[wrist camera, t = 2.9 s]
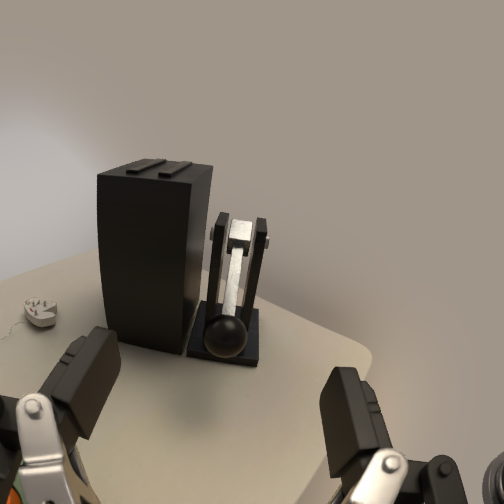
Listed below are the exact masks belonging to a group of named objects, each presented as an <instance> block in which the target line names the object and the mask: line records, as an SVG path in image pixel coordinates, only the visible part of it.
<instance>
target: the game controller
mask: <svg viewBox="0 0 504 504" xmlns="http://www.w3.org/2000/svg"><path fill="white" fill-rule="evenodd" d="M43 303H44V304H40V299H39V298H32V299H30V300H27V301H26V302H24V309H25V315H26V317H27V318H28V320H30V321H31V322H32V323H33V324H34V325H36V326H38V327H46V326H50V325H54V324H55V323H56V322H55V313H56V312H57V303H56V302H49V303H46V301H44V302H43ZM28 320H27V321H28ZM25 322H26V321H25ZM19 323H20V322H19ZM21 323H24V322H21ZM17 324H18V323H17ZM15 325H16V324H15ZM15 325H14V326H15ZM14 326H13V327H14ZM13 327H12V328H13ZM12 328H11V329H12ZM10 333H11V332H10ZM10 333H9V334H10ZM9 334H8V335H9ZM8 335H7V336H8ZM7 336H6V337H7ZM6 337H5V338H6ZM3 339H4V338H3ZM1 340H2V339H1Z"/></svg>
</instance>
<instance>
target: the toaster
mask: <svg viewBox="0 0 504 504" xmlns="http://www.w3.org/2000/svg"><path fill="white" fill-rule="evenodd" d="M212 171H213V166H211V165H203V164H194V163H192V162H187V161H182V162H176V161H166V159H155V160H154V159H142V160H139V161H135V162H132V163H129V164H126V165H123V166H120V167H117V168H114V169H111V170H109V171H106V172H103V173H100V174H97V228H98V248H99V262H100V273H101V283H102V291H103V299H104V307H105V314H106V320H107V326H108V329H109V330H113V331H115V332H116V334H117V340H118V341H119V342H123V343H127V344H131V345H135V346H139V347H143V348H148V349H152V350H157V351H162V352H166V353H171V354H177V355H182V353H183V350H184V347H185V343H186V340H187V337H188V333H189V330H190V327H191V323H192V320H193V317H194V314H195V310H196V307H197V304H198V301H199V295H200V283H201V271H202V260H203V249H204V240H205V230H206V220H207V212H208V203H209V195H210V187H211V179H212Z"/></svg>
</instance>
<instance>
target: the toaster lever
mask: <svg viewBox="0 0 504 504" xmlns="http://www.w3.org/2000/svg"><path fill="white" fill-rule="evenodd" d="M252 225H253V222H249V221H242V220H235V219H232V221H231V226H230V232H229V236H228V244H227V254H231V260H230V265H229V271H228V277H227V283H226V289H225V295H224V301H223V307H222V314H220V315H217V316H214V317H213V318H211V319H210V320H209V321H208V322H207V323H206V325H205V327H204V330H203V341H204V344H205V346H206V348H207V349H208V350H209V351H210V352H211V353H212V354H214V355H216V356H218V357H222V358H228V357H233V356H235V355H237V354H238V353H240V352H241V351H242V350H243V348H244V347H245V345H246V342H247V330H246V327H245V325H244V324H243V322H242V321H241V320H240V319H238V318H237V317H235V310H236V302H237V294H238V287H239V279H240V272H241V265H242V257H243V256H246V257H247V256H248V252H249V247H250V242H251V233H252Z"/></svg>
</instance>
